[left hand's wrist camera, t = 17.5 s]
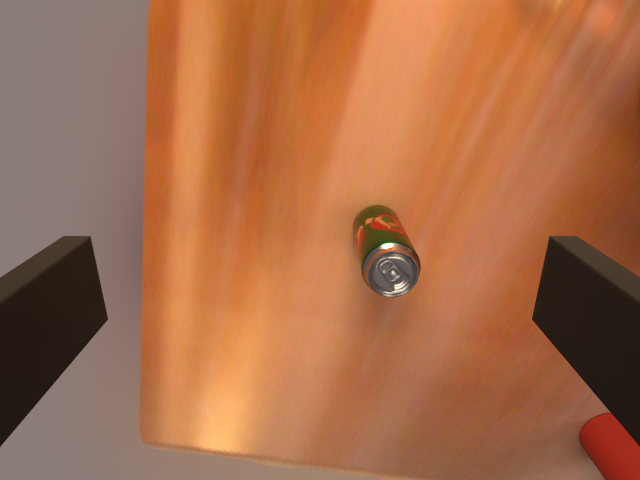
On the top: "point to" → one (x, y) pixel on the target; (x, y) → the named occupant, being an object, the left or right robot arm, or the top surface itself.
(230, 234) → the top surface
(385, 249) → the soda can
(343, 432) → the top surface
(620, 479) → the canister
